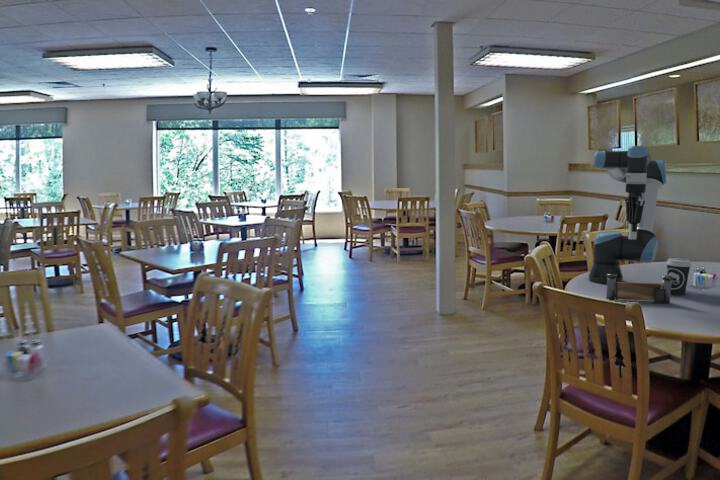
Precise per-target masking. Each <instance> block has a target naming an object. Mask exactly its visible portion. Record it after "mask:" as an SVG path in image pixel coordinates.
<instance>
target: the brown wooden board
mask: <svg viewBox="0 0 720 480" xmlns="http://www.w3.org/2000/svg"><path fill="white" fill-rule="evenodd" d="M655 288H662V283H655V282H631V281H630V282H627V281H626V282H625V281H623V282H617V283H616V287H615V300H616V301H617V300H622V301H623V300H624V301H625V300H628V301H631V300H632V301H649V302H650V301H651V302H654V294H655Z"/></svg>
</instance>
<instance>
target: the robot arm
mask: <svg viewBox="0 0 720 480" xmlns="http://www.w3.org/2000/svg"><path fill="white" fill-rule="evenodd" d="M593 165H594V167H595V168H596V169H605V170H606V171H607V173H608V175H609V176H610V178H612V179H613V180H616V181H618V182H621V183H624V184H625V192H626V193H627V194H628V197H627V198H625V199H624V202H625V211H626V216H625V217H626V221H627V223H628V233H627V235H623V233H622V232H620V231H610V232H602V233H601V232H600V233H598V234H597V233H596V235H595V236H594V241H593V262H592V266H591V268H590V271H589V273H588V280H589V281H590V282H593V283H597V284H598V283H599V284H606V285H607V279H608V276H607V274H608V273H613V274H617V277H616V283H617V282H624V276H623V271H622V269H621V261H622V262H623V261H626V262H635V263H652V262H654V260H655V259H656V255H657V252H658V247H659V238H658V237H656V234H655V232H654V231H653V229H654V222H655V216H656V209H657V199H658V193H659V191H660V190H661V189H662V188H663V185H666V184H667V173H666V172H667V171H666V170H667V169H666V162H665V161H664V160H660V159H657V160H656V159H651V155H650V153H649V147H648V146H647V145H630V146H629V147H628V148H627V150H608V151H607V150H602V151H601V150H599V151H596V152H595V153H594V158H593Z"/></svg>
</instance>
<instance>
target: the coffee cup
mask: <svg viewBox="0 0 720 480" xmlns="http://www.w3.org/2000/svg"><path fill="white" fill-rule="evenodd" d="M665 265H666V275H667V276H672V277H673V279H672V282H671V296H678V297H679V296H680V297H681V296H685V295H686V291H687V285H688V280H689V273H690V269H691V267H692V263H691V261H690V260H689V259H686V258H679V257H672V258H671V257H670V258H668V259H667V261H666V262H665Z"/></svg>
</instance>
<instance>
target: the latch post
mask: <svg viewBox="0 0 720 480" xmlns="http://www.w3.org/2000/svg"><path fill="white" fill-rule="evenodd" d="M661 279H662V283H661V284H662V287H661V288H655V294H654V301H653V304H655V305H656V304H657V305H658V304H660V305H661V304H662V305H664V304H670V303H671V296H672V295H671V282H672V279H673V277H672V276H667V274H666V275H661Z"/></svg>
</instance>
